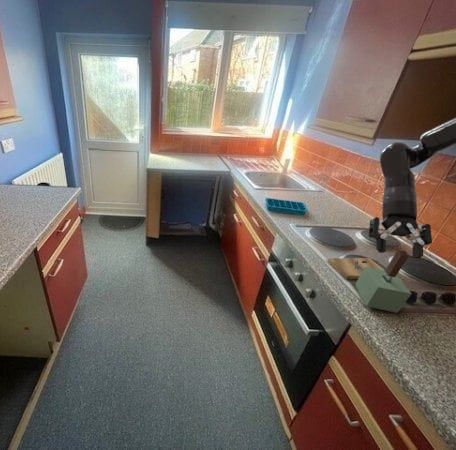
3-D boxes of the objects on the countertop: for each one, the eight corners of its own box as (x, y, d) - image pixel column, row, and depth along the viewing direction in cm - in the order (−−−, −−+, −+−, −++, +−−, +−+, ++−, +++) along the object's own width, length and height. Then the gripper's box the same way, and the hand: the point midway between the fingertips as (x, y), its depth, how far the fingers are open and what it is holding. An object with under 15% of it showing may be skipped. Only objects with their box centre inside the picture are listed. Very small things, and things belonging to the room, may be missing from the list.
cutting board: (367, 261, 97) (369, 257, 96) (389, 278, 88) (391, 275, 87) (327, 261, 96) (329, 258, 95) (346, 278, 87) (347, 275, 87)
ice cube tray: (263, 202, 144) (265, 197, 142) (302, 207, 139) (303, 202, 137) (265, 210, 134) (266, 205, 132) (306, 216, 129) (308, 211, 127)
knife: (371, 292, 81) (397, 249, 72) (377, 293, 80) (404, 250, 72) (374, 297, 78) (402, 254, 70) (381, 299, 78) (409, 255, 69)
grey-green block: (354, 284, 85) (364, 266, 81) (382, 290, 83) (394, 271, 79) (366, 306, 77) (378, 287, 73) (397, 313, 75) (411, 293, 71)
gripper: (417, 211, 78) (418, 262, 74) (364, 204, 82) (363, 252, 78) (438, 202, 71) (440, 258, 67) (379, 195, 75) (378, 247, 71)
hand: (399, 255), depth 72 cm, fingers open, 8 cm apart
